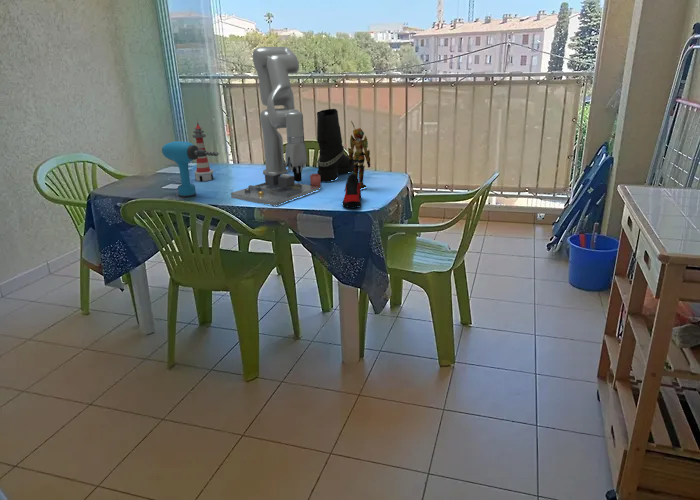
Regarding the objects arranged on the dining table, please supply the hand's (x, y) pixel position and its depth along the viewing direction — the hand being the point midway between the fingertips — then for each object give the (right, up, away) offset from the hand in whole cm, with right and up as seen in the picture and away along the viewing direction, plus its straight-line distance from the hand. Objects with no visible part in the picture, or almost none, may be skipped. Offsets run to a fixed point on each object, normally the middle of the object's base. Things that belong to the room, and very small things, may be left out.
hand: (297, 180), depth 232 cm
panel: (-9, -7, -10) cm, 15 cm away
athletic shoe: (+25, -13, -25) cm, 37 cm away
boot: (+17, +6, +22) cm, 28 cm away
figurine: (+28, -4, -3) cm, 28 cm away
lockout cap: (+8, -4, -2) cm, 9 cm away
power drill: (-43, -8, -11) cm, 45 cm away
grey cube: (-4, -3, -5) cm, 8 cm away
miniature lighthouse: (-48, +3, +19) cm, 51 cm away
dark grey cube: (-11, -2, -1) cm, 11 cm away
